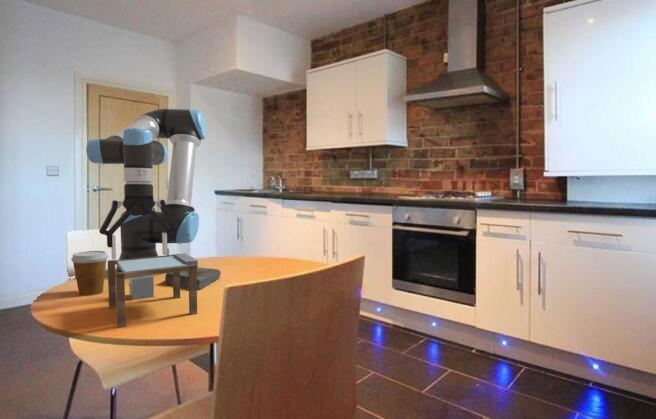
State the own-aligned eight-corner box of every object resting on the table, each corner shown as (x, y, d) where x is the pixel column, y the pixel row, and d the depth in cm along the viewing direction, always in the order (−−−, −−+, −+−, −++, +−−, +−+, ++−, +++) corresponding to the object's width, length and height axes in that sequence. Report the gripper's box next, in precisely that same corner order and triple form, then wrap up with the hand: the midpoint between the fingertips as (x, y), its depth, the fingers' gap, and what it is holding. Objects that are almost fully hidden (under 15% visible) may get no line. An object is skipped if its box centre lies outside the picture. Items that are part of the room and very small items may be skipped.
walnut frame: (109, 306, 108) (107, 260, 107) (178, 296, 118) (178, 253, 118) (118, 327, 93) (116, 274, 92) (197, 313, 104) (196, 265, 103)
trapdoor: (117, 267, 107) (117, 258, 107) (183, 260, 117) (183, 252, 117) (125, 279, 95) (125, 269, 95) (199, 270, 105) (199, 261, 104)
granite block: (129, 295, 119) (129, 275, 118) (150, 292, 122) (149, 273, 122) (132, 300, 114) (132, 279, 114) (153, 297, 117) (153, 277, 117)
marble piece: (200, 291, 125) (199, 278, 125) (157, 288, 128) (157, 275, 127) (224, 278, 141) (224, 266, 141) (186, 276, 144) (186, 264, 144)
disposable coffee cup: (76, 290, 124) (74, 251, 123) (111, 287, 127) (109, 249, 127) (69, 298, 115) (67, 257, 114) (106, 295, 119) (105, 255, 118)
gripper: (89, 182, 106) (91, 262, 107) (186, 183, 120) (187, 254, 121) (87, 182, 112) (89, 258, 113) (180, 183, 126) (181, 250, 127)
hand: (140, 256), depth 117 cm, fingers open, 13 cm apart
